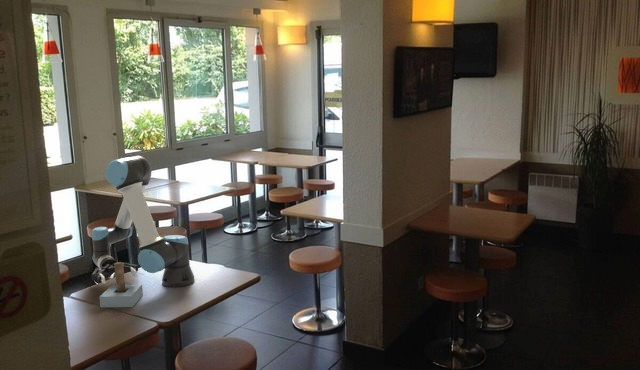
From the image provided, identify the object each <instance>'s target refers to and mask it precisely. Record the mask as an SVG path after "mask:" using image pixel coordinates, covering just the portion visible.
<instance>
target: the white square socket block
mask: <svg viewBox="0 0 640 370" xmlns="http://www.w3.org/2000/svg"><path fill="white" fill-rule="evenodd" d="M125 290H126V292H125V293H117V286H116V284H111V285H110V286H109V287H108V288H107V289H106V290H105V291H104V292H102V294H101V295H99V297H98V298H99V307H101V308H133V307H134V306H135V305H136V304H137V302H138V301H139V300H140V299H141V298H142V297H143V295H144V292H143V284H125Z"/></svg>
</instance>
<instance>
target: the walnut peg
mask: <svg viewBox="0 0 640 370" xmlns="http://www.w3.org/2000/svg"><path fill="white" fill-rule="evenodd" d="M123 262H124V261H123ZM123 262H122V261H119V262H118V261H117V263H115V264H114V265H115V272H114V275H115V285H116V286H117V293H125V292H126V290H125V285H126V282H125V281H126V280H125V272H124V268H123Z"/></svg>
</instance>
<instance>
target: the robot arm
mask: <svg viewBox="0 0 640 370" xmlns="http://www.w3.org/2000/svg"><path fill="white" fill-rule="evenodd" d="M106 167H107V168H106V169H105V178H106V180H107V182H108V183H109V184H110V185H111V186H112V187H115V188H116V191H117V192H118V193H121V194H122V196H123V198H122V202H121V205H120V208H119V211H118V214H117V217H116V220H115V222H114V225H113V227H110V228H108V227H106V226H97V227H94V228H93V229H91V239H92V247H93V253H92V254H93V255H92V262H93V263H94V265H96V266H97V267H95V269H94V271H93V272H92V273H91V280H92V281H94V280H96V281H97V282H100V281H101V282H102V284H106V278H105V276H107V275H113V274H115V265H114V264H115V263H117V262H118V261H117V260H116V259H115V258H114V257H113V256H111V255H112V254H111V245H112V244H115V243H117V242H118V243H119V242H121V241H124V240H127V239H128V238H130V237H131V236H132V235H133V227H132V226H131V225H132V223H133V226H134V228H135V231H136V234H137V237H138V238H139V241H140V244H139V246H138V249H139V253H138V255H137V256H138V257H137V261H138V264H139V265H137V264H132V263H127V262H126V261H125V262H124V261H123V268H124V273H126V272H127V273H130V274H132V276H133V277H135V278H136V277H138V275H137V274H138V273H137V272H138V271H139V266H140V268H141V269H142V270H143V271H145V272H147V273H149V274H154V273H159V272H162V271H163V275H162V279H161V280H162V285H163V286H164V287H165V288H166V287H167V288H181V287H186V286H189V284H190V285H191V283H192V284H193V283H195V275H194V272H193V270H192V267H191V263H190V250H189V249H190V248H189V245H190V244H189V240H188V237H187V236H185V235H180V234H174V235H173V234H172V235H164V236H160V235H159V232H158V230H157V227H156V224H155V222H154V218H153V216H152V214H151V210H150V208H149V205H148V202H147V200H146V198H145V196H144V190H145V187H146V186H148V185H149V183H150V181H151V177H152V165H151V163H150V162H149V160H147V159H146V157H144V156H141V155H133V156H128V157H127V156H126V157H121V158H116V159H114V160H112V161H111V162H109V163H108V165H107V166H106Z"/></svg>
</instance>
